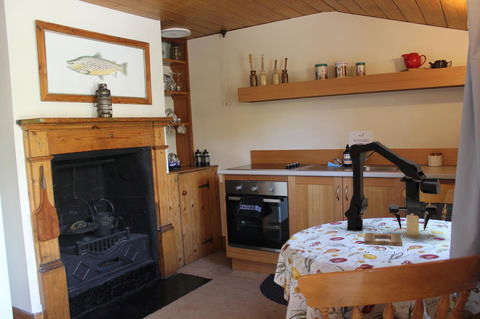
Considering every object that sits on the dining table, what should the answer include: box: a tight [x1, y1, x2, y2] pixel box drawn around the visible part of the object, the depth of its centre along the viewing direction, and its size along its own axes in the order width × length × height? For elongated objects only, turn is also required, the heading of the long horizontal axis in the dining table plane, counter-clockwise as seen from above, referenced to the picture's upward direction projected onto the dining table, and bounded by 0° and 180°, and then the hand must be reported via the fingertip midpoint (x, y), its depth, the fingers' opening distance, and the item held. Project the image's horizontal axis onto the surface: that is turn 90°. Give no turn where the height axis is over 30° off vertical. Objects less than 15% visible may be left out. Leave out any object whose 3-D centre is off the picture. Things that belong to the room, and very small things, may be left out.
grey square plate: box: [402, 232, 423, 239], centre depth 172 cm, size 7×8×1 cm
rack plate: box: [364, 232, 403, 250], centre depth 165 cm, size 14×12×3 cm
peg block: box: [405, 214, 420, 237], centre depth 171 cm, size 4×4×8 cm
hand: (412, 229), depth 172 cm, fingers open, 9 cm apart
